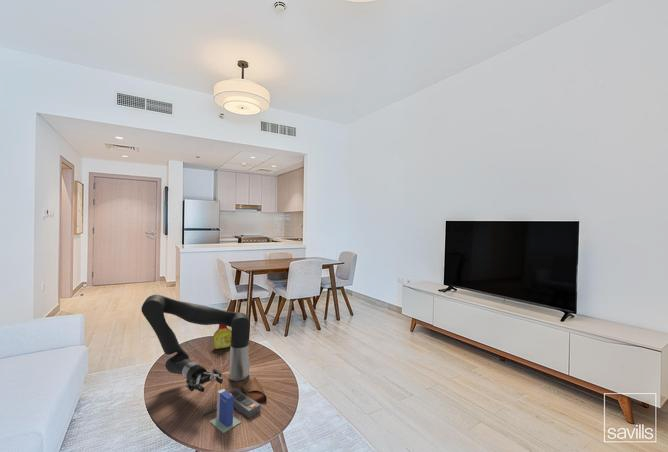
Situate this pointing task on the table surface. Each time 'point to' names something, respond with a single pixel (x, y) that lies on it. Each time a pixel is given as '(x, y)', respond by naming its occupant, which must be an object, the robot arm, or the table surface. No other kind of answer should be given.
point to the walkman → (225, 407)
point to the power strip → (242, 404)
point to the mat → (223, 427)
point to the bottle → (222, 337)
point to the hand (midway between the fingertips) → (212, 385)
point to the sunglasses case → (254, 391)
